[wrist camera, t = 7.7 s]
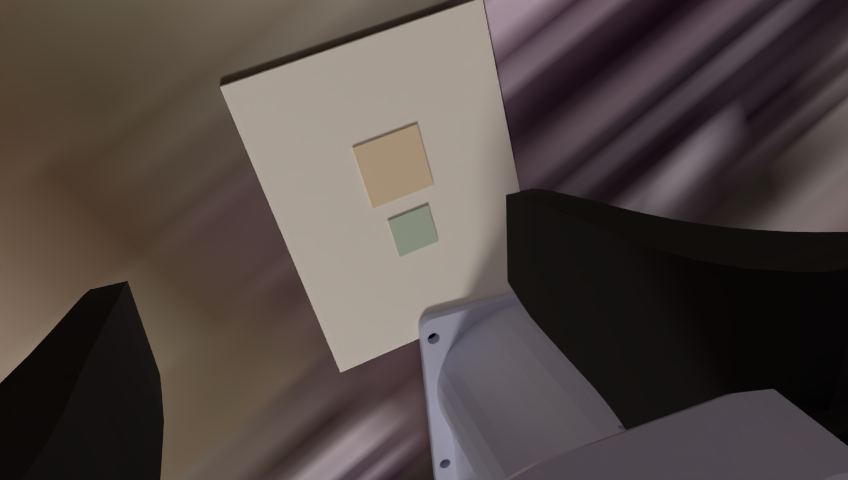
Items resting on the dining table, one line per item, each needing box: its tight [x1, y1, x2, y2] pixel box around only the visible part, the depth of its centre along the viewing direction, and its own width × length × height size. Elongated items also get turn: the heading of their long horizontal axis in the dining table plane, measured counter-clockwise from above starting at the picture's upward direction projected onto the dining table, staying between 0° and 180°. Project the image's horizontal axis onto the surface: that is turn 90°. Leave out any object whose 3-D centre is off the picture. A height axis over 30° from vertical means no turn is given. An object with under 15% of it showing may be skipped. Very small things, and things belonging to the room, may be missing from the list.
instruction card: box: [220, 0, 520, 373], centre depth 23 cm, size 12×9×1 cm
